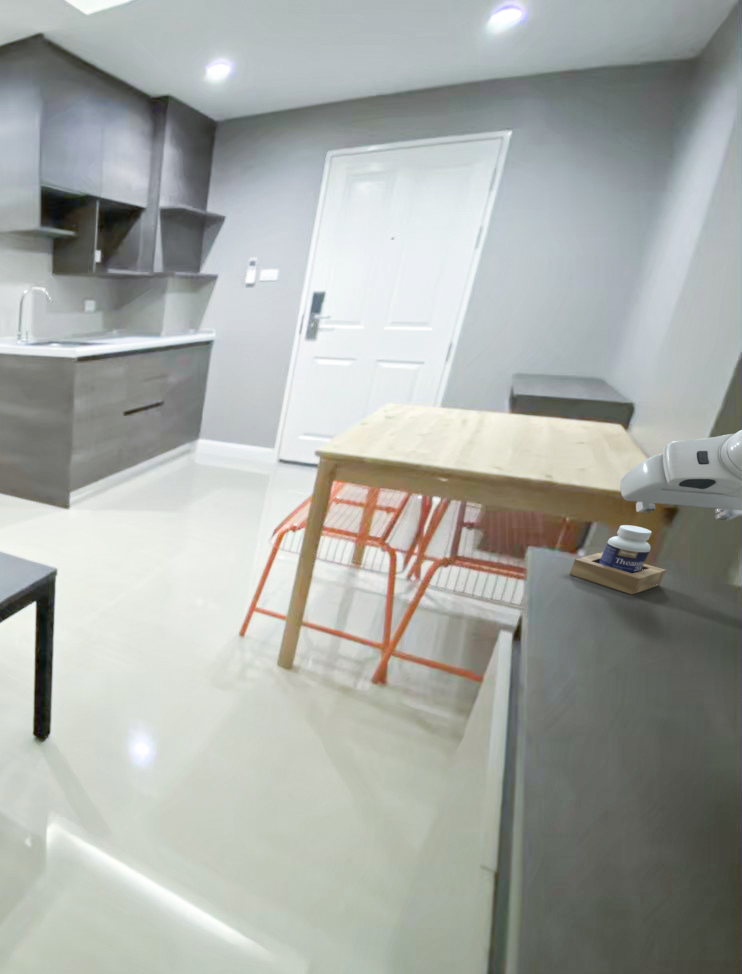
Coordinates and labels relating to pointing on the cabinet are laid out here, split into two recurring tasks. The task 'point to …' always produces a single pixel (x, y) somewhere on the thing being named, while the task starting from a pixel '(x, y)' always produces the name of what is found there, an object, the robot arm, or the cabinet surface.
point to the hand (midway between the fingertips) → (680, 512)
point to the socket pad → (616, 575)
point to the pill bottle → (627, 549)
